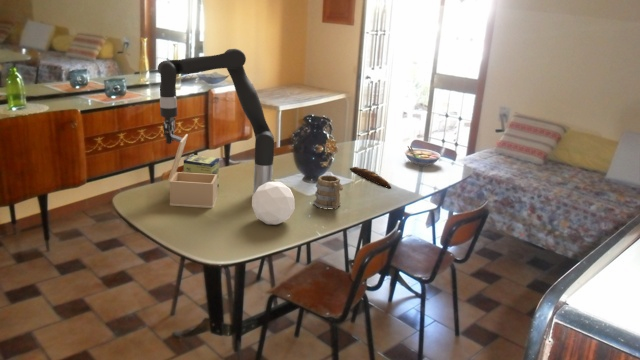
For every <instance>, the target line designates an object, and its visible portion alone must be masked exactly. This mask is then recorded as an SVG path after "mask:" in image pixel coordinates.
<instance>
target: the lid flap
mask: <svg viewBox="0 0 640 360" xmlns="http://www.w3.org/2000/svg"><path fill="white" fill-rule="evenodd" d="M188 135H189V134H188V133H186V134H185V135H184V136H183V137H181V136H178V135H175V134H174V135H173V134H172V135H171V139H172V140H174V141H175V142H177V143H179V145H178V147H177V150H176V154H175V157H174V160H173V162H172V165H171V170H170V173H169V176H168V180H167V181H168V182H170V180H171V179H172V177H173V176H174V175H175V173H176V172H178V171H177V170H178V168H179V165H180V162H181V159H182V156H183V152H184V150H185V146H186V142H187V139H188ZM164 138H166V135H164Z"/></svg>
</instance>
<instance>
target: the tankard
mask: <svg viewBox="0 0 640 360" xmlns="http://www.w3.org/2000/svg"><path fill="white" fill-rule="evenodd" d="M315 188H316V191H315V194H314V195H315V197H316V198H315V199H314V200H313V201H312V202H313V203H314V204H315V205H316V206H317V207H322V208H327V209H328V208H337V209H339V207H340V206H341V205H340V204H342V203H341V198H340V196H341V193H340V191H343V190H344V188H343V185H342V183H341V179H340V178H338V176H334V175H329V174H326V175H320V176H319V177H318V178H317V181H316V184H315ZM313 203H312V204H313ZM314 204H313V205H314ZM315 205H314V206H315ZM339 205H340V206H339ZM316 206H315V207H316ZM338 206H339V207H338ZM317 207H316V208H317Z"/></svg>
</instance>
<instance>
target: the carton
mask: <svg viewBox="0 0 640 360" xmlns="http://www.w3.org/2000/svg"><path fill="white" fill-rule="evenodd" d="M217 199H218V187H217V174H201V173H185V172H184V171H183V172H182V171H181V172H180V171H176V173H175V174H174V176H173V177H172V179H171V180H170V181H169V206H176V207H190V208H191V207H193V208H208V209H212V208H214V206H215V204H216V201H217Z"/></svg>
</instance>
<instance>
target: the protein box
mask: <svg viewBox="0 0 640 360" xmlns="http://www.w3.org/2000/svg"><path fill="white" fill-rule="evenodd" d="M183 172H185V173H201V174H217V188H219V186H220V185H219V184H220V183H219V182H220V180H219V179H220V158H219V157H210V156H202V155H197V154H191V155H190V156H189V157H187V158H185V159H183Z"/></svg>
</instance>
